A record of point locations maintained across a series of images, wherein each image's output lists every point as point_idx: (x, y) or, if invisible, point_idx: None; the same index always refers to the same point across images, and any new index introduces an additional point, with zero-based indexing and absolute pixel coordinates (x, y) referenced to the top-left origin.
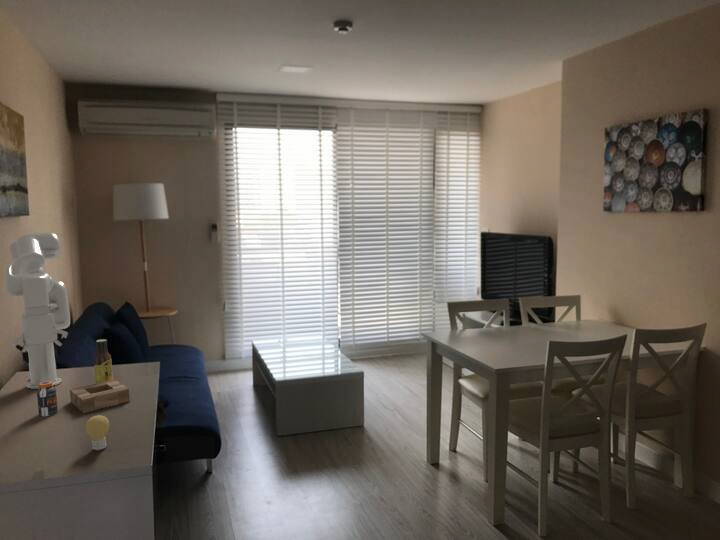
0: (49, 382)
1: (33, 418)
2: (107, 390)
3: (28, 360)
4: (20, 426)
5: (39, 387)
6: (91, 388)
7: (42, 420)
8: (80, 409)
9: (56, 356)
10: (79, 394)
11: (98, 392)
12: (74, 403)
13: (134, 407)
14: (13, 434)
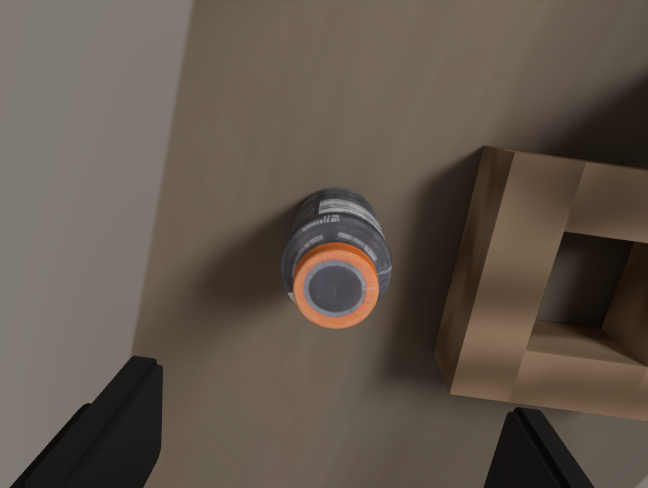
0: (359, 303)
1: (265, 231)
2: (610, 367)
3: (141, 479)
4: (196, 286)
5: (293, 281)
6: (601, 235)
7: (284, 292)
8: (444, 318)
9: (500, 438)
10: (488, 306)
11: (563, 359)
12: (470, 219)
13: (590, 453)
14: (155, 352)
